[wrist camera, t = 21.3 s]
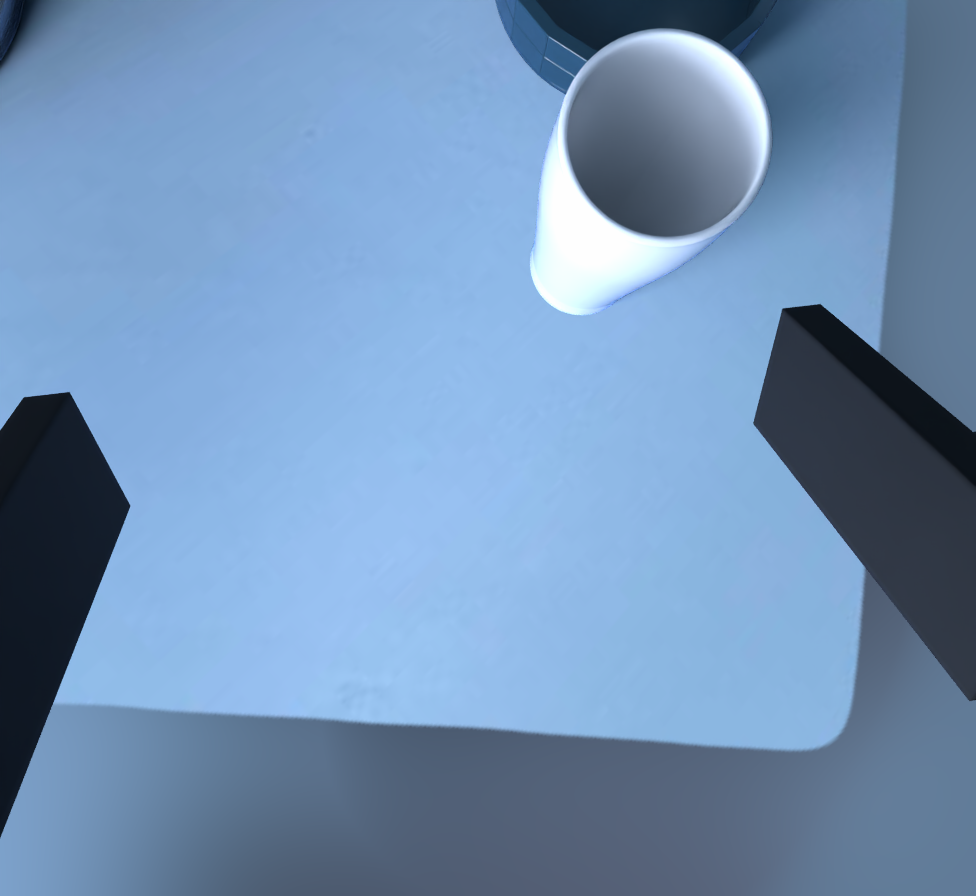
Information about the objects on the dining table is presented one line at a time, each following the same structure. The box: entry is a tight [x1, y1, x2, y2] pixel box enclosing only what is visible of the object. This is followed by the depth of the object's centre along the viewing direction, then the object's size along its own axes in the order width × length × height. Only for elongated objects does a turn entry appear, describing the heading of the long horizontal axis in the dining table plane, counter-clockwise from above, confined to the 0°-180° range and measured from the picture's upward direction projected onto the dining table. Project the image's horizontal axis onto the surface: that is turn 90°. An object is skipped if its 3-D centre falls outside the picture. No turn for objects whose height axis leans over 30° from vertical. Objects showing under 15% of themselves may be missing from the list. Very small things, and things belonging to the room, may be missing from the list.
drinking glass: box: [530, 28, 772, 315], centre depth 27 cm, size 7×7×15 cm
